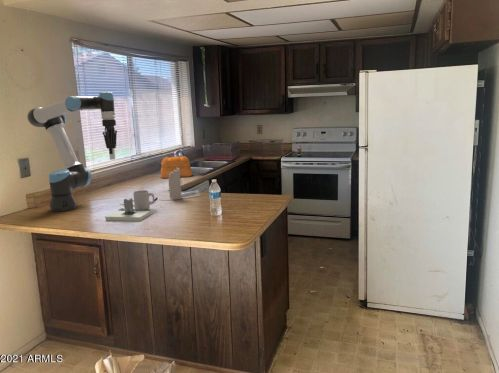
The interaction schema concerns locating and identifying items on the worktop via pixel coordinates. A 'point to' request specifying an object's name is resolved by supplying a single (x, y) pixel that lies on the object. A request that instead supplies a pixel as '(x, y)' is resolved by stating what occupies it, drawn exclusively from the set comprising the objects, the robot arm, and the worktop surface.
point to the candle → (174, 185)
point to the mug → (142, 199)
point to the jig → (137, 216)
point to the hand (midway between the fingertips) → (112, 159)
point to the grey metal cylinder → (128, 206)
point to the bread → (176, 166)
